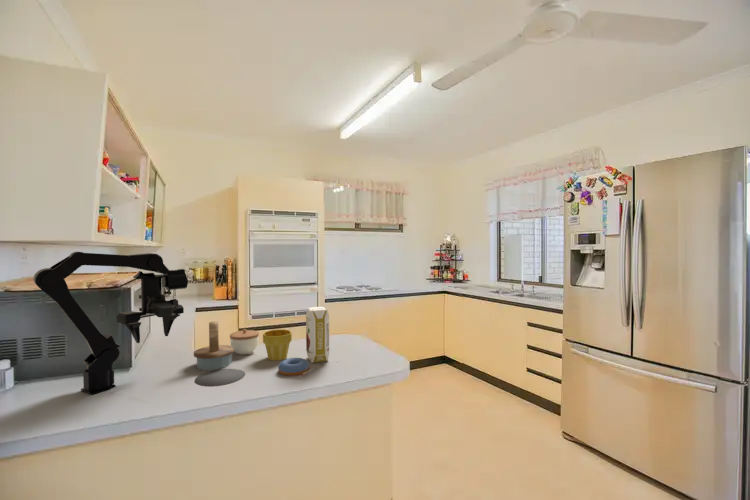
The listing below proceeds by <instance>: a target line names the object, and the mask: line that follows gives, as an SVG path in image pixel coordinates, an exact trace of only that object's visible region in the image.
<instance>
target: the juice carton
mask: <svg viewBox="0 0 750 500" xmlns="http://www.w3.org/2000/svg"><path fill="white" fill-rule="evenodd" d="M306 308H307V309H306V314H305V329H306V330H305V338H306V339H305V341H306V343H305V346H306V349H305V351H306V355H307V358H308V360H309V361H310V363H312V364H315V363H316V364H317V363H321V362H322V363H323V362H327V361H329V357H330V315H329V309H327V308H325V307H324V306H311V307H306Z"/></svg>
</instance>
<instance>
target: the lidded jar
mask: <svg viewBox="0 0 750 500" xmlns="http://www.w3.org/2000/svg"><path fill="white" fill-rule="evenodd" d="M259 334H260V332H259V331H257V330H252V329H246V328H243V330H237V331H234V332H231V333H230V334H229V338H230V339H229V340H230V341H229V342H230V346H232V347H233V348H234V352H233V353H235V354H237V355H252V354H253V353H254V352H255V350H256V349H257V347H258V345H259V341H260V340H259Z"/></svg>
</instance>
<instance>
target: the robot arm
mask: <svg viewBox="0 0 750 500" xmlns="http://www.w3.org/2000/svg"><path fill="white" fill-rule="evenodd" d="M82 266H94V267H95V266H96V267H119V268H121V267H123V268H131V269H132V268H133V269H137V270H139V271H138V272H137V273H136V274H135V275H133V276H132V277H133V279H135V280H140V289H141V291H140V292H141V293H140V295H138V298H139V299H140V301H141V307H139V309H138V310H139V312H138V311H133V310H129V311H122V312H119V313H118V315H116V323H119V324H121V325H124V326H125V327H126V328H127V329H128V331H129V332H130V333H131V335H132V337H133V339H134V341H135V342H136V344H140V343H141V332H140V331H141V330H140V326H141V325H142V322H140V320H141V319H144V318H149V317H154V316H156V317H157V318H162V327H163V333H164V337H169V334H170V332H171V329H172V325H173V323H174V322H175V320H176V319H177V318H178V317H180V316H181V314H184V313H185V312H184V311H185V309H184V306H183V305H182V304H179V300H178V299H177V298H173V299H170V300H166V296H165V293H164V294H163V289H164V288H165V289H166V291H173V290H183V289H187V287H188V283H189V280H188V277H187V274H186V269H184V268H178V269H169V268H168V267H167V265H165V264H164V259H163V257H162V256H161V255H160V254H158V253H153V252H152V253H151V252H147V253H144V252H143V253H136V254H127V255H126V254H114V253H113V254H110V253H92V252H83V251H74V252H72V253H70V254H69V255H68V256H67V257H65V258H64V259H61V260H60V261H58V262H57V263H55V264H53V265H52V266H50V267H47V268H46V267H44V268H41V269H39V270H37V271H36V272H35V274H34V275H33V279H32V280H33V283H34V284H35V286H37V287H38V289H39V290H41V291H42V292H44V293H45V294H46V295H47V296H48V297H49V298H51V299H52V300H53V301H54V302H56V303H57V305H58V306H59V307H60V308H61V310H62V312H64V314H65V315H66V316H67V318H68V319H69V320H70V321H71V323H72V324H73V325H74V327H75V328H76V329H77V330H78V331H79V333H80V335H82V336H83V338H84V340H85V341H86V343H87V346H88V348H89V350H90V354H89V355H87V356H86V357H85V358H84V359H83V360H82V363H83V364H84V366H85V368H87V369H84V370H83V371H82V375H83V387H82V388H81V389H80V391H81V392H83V393H86V394H89V395H95V394H98V393H102V392H104V391H107V390H110V389H114V388H116V384H115V370H114V369H113V364H114V362H115V361H117V360H118V358H119V356H120V353H121V352H120V349H119V348H120V345H119V344H118V343H117V342H115V340H114V337H113V335H111V334H110V333H109V332H106V333H105V334H104V335H103V334H102V333H101V332H100V331H99V329H98V328H97V327H96V325H95V324H94V323H93V322H92V320H91V319H90V318H89V316H87V314H86V312H85V311H84V309H82V307H81V306H80V305H79V303H78V302H77V301H76V299H74V297H73V295H72V294H71V292H70V289H69V286H68V284H67V282H66V278H68V277H69V276H70V275H72V274H74V272H75V271H77V270H78V269H79V268H81V267H82ZM141 270H143V271H147V272H146V273H145V272H143V271H141ZM155 273H157V274H159V275H156V274H155ZM162 287H163V288H162Z"/></svg>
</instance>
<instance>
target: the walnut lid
mask: <svg viewBox="0 0 750 500" xmlns="http://www.w3.org/2000/svg"><path fill="white" fill-rule="evenodd" d="M208 339H209V340H208V341H209V343H208V344H209V346H204V347H201V348H198V349H196V350H194V351H193V357H194V358H195V359H197V358H201V359H211V358H219V357H223V356H227V355H229V354H231V353H235V352H234V348H233V347H232V346H231V345H227V344H226V345H225V344H219V321H210V322H209V323H208Z"/></svg>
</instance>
